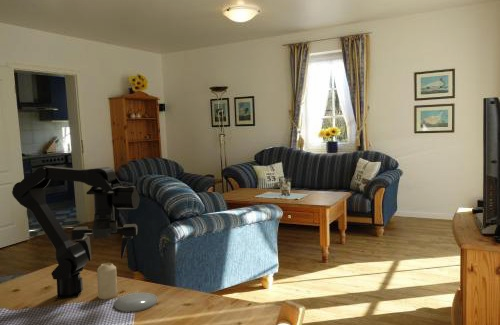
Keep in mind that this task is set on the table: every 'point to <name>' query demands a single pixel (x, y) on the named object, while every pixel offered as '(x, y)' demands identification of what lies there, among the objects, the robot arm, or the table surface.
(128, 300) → the slate plate
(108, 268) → the candle
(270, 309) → the table surface
